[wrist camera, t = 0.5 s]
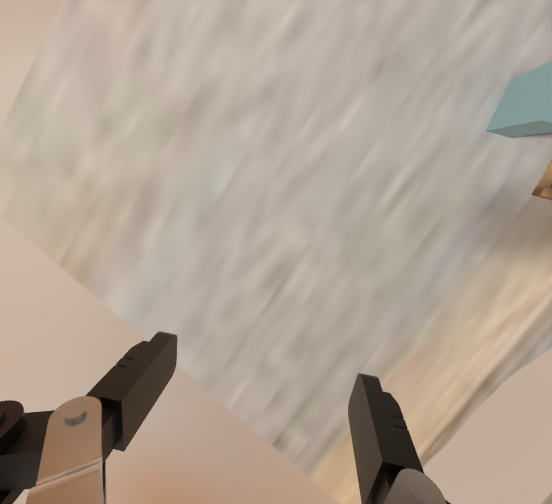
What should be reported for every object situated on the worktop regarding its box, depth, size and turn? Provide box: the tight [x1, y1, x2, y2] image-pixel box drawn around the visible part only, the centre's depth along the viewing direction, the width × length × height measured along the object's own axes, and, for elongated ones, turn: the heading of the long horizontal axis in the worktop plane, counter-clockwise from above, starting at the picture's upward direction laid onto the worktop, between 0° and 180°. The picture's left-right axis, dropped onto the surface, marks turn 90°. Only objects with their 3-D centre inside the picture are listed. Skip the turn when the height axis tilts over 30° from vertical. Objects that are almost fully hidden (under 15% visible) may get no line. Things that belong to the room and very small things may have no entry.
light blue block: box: [486, 61, 552, 138], centre depth 27 cm, size 6×3×8 cm, turn 165°
